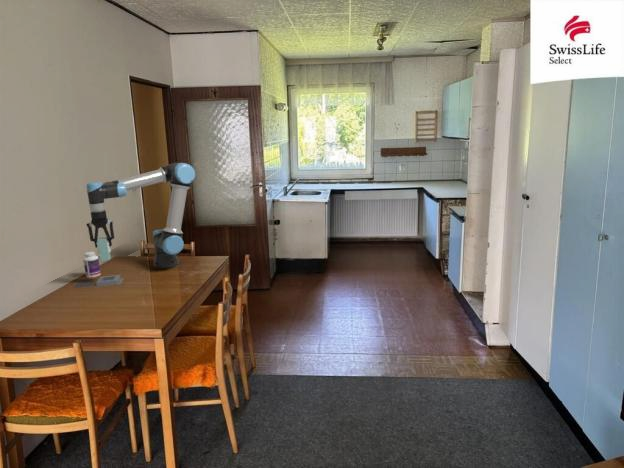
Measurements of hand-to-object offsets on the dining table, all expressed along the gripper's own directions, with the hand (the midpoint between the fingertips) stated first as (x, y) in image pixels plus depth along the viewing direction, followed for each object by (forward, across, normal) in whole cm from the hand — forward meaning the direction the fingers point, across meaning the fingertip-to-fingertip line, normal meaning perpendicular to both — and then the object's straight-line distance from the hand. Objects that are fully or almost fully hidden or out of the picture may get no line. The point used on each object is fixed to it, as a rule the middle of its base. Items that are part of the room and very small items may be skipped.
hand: (104, 252), depth 258 cm
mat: (+18, +13, -1) cm, 22 cm away
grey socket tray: (+18, 0, 0) cm, 18 cm away
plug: (+4, 0, 0) cm, 4 cm away
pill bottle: (+18, +12, -18) cm, 29 cm away
